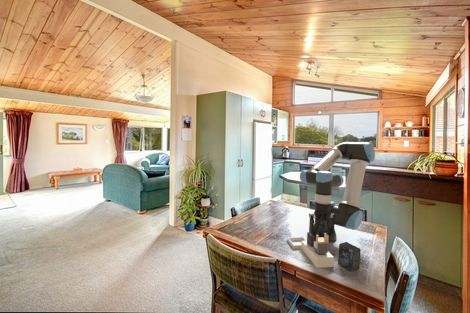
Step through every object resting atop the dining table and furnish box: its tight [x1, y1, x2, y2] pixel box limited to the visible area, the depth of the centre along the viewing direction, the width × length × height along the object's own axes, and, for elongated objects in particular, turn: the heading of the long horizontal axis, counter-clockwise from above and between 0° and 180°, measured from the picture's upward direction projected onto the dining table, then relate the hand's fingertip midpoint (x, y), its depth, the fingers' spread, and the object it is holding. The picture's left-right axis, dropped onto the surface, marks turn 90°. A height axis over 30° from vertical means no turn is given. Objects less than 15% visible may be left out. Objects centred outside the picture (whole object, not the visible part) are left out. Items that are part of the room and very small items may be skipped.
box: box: [337, 241, 362, 272], centre depth 108 cm, size 8×6×11 cm
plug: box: [314, 237, 329, 255], centre depth 111 cm, size 5×5×10 cm
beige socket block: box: [300, 241, 336, 269], centre depth 116 cm, size 16×18×5 cm
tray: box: [286, 236, 307, 250], centre depth 129 cm, size 10×10×2 cm
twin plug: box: [306, 231, 320, 247], centre depth 119 cm, size 5×5×13 cm
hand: (320, 246), depth 111 cm, fingers closed on plug, 5 cm apart
